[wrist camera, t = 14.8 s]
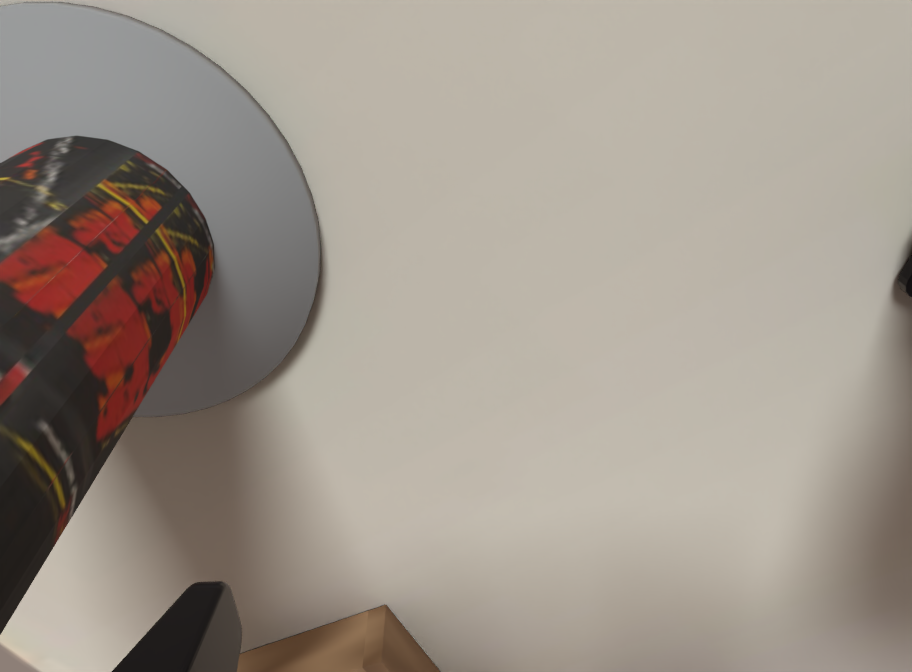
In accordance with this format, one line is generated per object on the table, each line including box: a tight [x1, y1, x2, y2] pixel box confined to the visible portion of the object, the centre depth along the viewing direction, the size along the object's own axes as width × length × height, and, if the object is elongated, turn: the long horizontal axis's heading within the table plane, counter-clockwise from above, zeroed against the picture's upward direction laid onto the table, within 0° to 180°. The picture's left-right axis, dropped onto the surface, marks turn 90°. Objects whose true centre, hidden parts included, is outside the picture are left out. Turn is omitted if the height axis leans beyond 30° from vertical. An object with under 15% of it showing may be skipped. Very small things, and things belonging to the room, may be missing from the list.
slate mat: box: [0, 2, 321, 417], centre depth 20 cm, size 12×12×1 cm
